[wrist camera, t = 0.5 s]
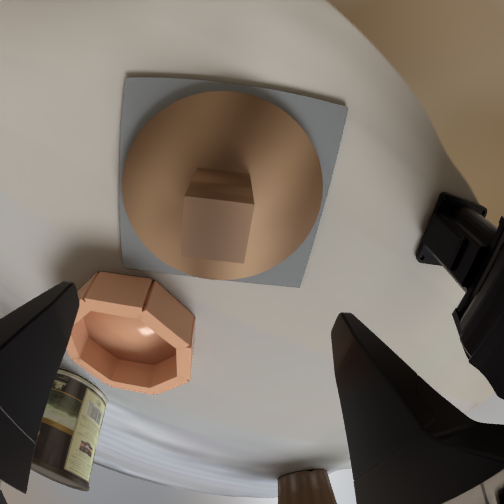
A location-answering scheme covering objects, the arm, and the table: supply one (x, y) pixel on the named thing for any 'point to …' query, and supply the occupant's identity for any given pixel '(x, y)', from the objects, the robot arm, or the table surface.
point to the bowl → (132, 334)
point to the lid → (222, 185)
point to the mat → (297, 106)
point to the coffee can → (69, 431)
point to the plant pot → (305, 488)
